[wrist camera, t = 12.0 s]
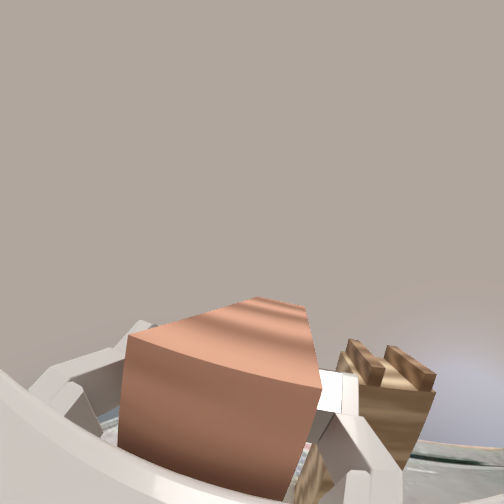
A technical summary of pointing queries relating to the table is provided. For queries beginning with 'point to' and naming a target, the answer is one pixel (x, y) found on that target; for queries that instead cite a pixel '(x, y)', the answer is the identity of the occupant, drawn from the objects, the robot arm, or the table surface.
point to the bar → (223, 395)
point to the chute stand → (377, 410)
